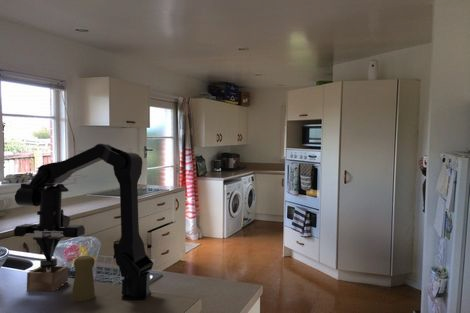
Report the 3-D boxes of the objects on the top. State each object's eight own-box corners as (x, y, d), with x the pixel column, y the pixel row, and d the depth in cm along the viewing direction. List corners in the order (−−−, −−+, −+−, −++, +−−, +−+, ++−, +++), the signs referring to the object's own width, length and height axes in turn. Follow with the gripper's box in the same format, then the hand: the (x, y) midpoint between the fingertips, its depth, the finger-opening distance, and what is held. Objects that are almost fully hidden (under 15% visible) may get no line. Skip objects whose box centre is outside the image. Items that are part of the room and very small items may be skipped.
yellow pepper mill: (86, 302, 97) (87, 259, 98) (66, 300, 98) (67, 258, 99) (99, 294, 103) (100, 254, 104) (80, 292, 104) (81, 253, 105)
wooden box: (67, 282, 113) (68, 266, 113) (54, 291, 105) (55, 273, 105) (41, 281, 113) (42, 265, 113) (26, 290, 105) (27, 272, 105)
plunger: (62, 282, 112) (62, 257, 112) (52, 288, 106) (53, 262, 107) (43, 282, 112) (44, 257, 112) (33, 288, 106) (34, 262, 107)
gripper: (92, 204, 118) (91, 254, 117) (34, 203, 118) (33, 253, 118) (77, 208, 107) (75, 263, 106) (13, 207, 107) (11, 261, 106)
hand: (48, 259), depth 109 cm, fingers closed, pressing on plunger
